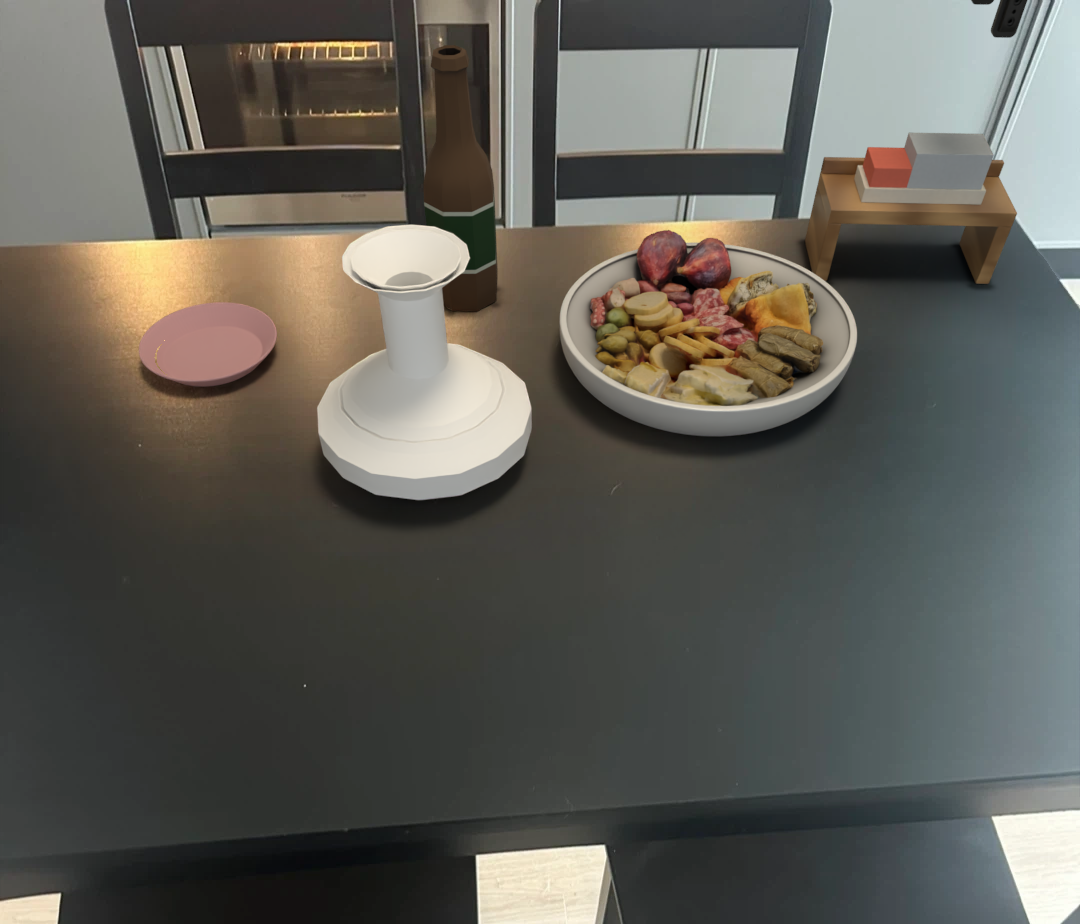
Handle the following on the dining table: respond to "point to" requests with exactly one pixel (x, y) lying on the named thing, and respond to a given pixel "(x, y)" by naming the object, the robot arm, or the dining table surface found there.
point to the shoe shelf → (907, 217)
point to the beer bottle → (461, 184)
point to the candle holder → (420, 381)
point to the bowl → (706, 336)
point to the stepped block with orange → (926, 170)
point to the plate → (208, 343)
